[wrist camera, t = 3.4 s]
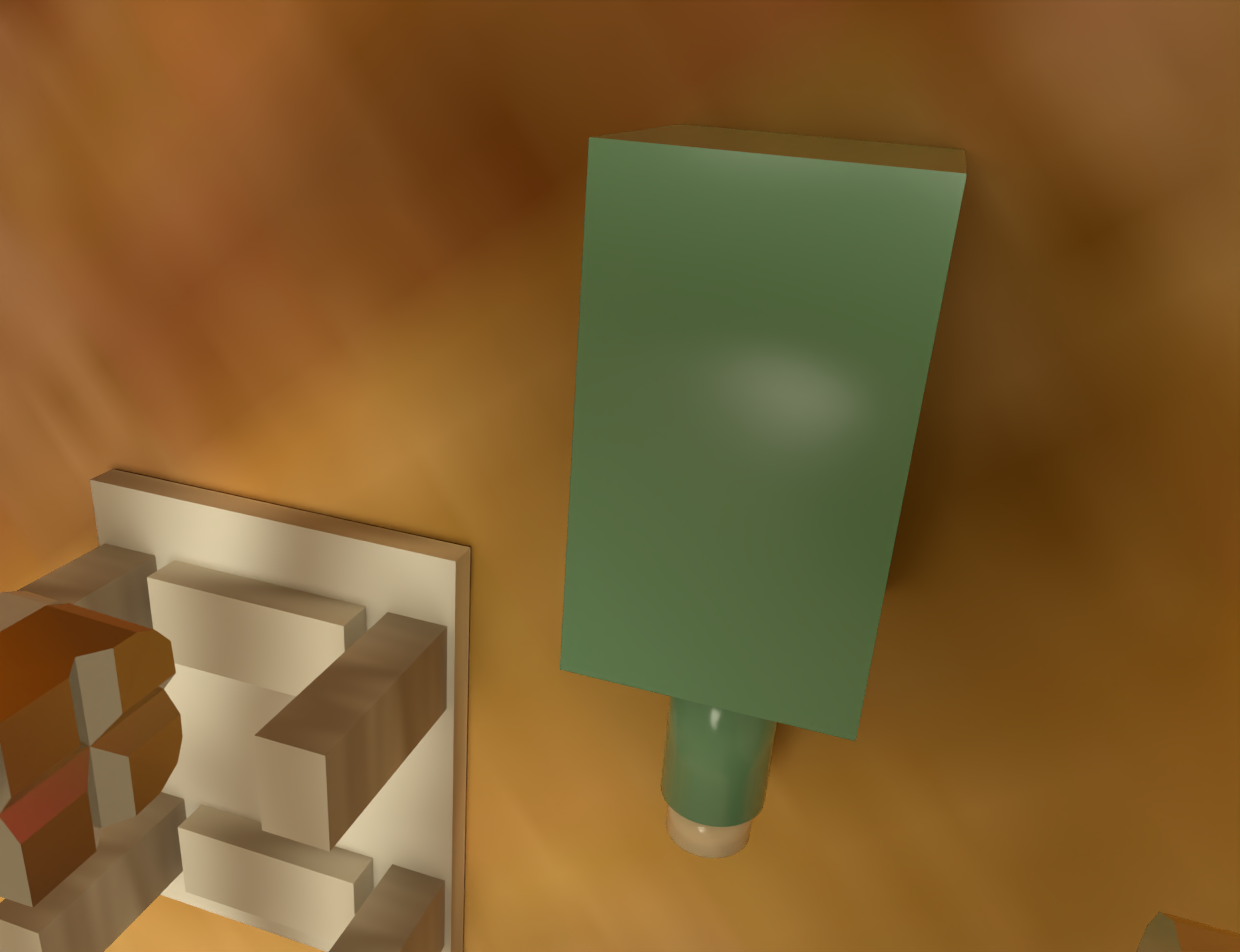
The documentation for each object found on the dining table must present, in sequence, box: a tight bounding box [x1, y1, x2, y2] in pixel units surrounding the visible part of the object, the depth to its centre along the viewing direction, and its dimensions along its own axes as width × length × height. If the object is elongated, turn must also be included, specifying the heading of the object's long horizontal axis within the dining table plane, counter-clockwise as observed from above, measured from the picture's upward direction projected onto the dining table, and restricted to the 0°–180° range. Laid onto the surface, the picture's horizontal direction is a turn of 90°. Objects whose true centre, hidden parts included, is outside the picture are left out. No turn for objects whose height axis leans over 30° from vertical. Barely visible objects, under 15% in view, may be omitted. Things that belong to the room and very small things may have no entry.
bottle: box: [560, 124, 967, 858], centre depth 19 cm, size 5×14×6 cm, turn 176°
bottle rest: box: [0, 469, 471, 952], centre depth 25 cm, size 10×14×6 cm
